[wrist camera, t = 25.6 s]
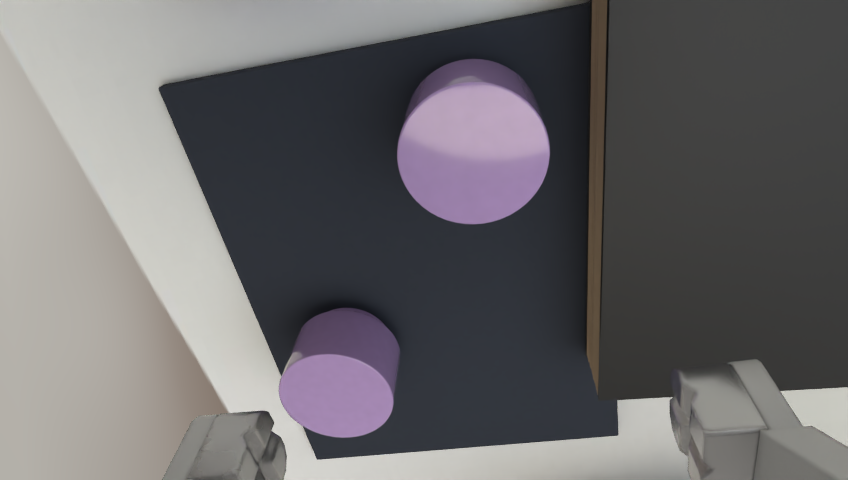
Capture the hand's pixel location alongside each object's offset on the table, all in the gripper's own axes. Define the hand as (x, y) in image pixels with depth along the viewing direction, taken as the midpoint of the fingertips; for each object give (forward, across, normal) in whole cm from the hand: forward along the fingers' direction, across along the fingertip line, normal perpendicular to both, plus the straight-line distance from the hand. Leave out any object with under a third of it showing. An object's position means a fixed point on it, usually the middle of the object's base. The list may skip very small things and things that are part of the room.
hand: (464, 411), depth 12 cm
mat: (+18, +4, +9) cm, 21 cm away
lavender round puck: (+18, +8, +12) cm, 23 cm away
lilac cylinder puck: (+18, 0, 0) cm, 18 cm away
